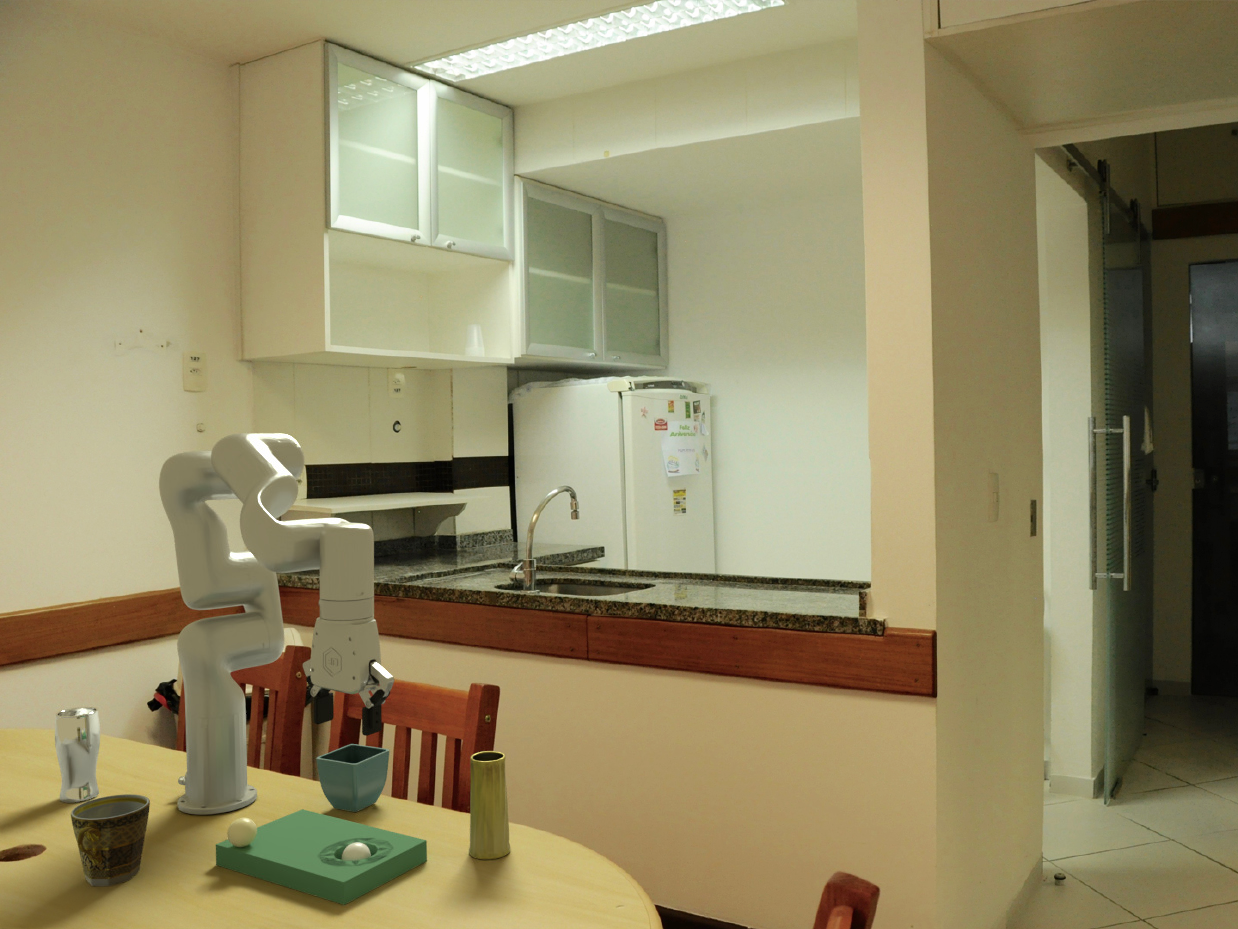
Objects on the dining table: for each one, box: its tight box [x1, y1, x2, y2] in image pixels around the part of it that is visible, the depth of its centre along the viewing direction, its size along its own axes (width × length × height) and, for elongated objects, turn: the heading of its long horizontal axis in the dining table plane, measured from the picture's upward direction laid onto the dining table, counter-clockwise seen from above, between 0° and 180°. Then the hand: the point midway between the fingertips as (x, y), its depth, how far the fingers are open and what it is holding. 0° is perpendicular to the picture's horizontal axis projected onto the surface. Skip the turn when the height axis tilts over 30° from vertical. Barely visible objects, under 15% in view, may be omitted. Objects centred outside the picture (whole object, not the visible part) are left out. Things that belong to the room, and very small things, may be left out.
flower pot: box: [315, 743, 390, 813], centre depth 169 cm, size 9×9×9 cm
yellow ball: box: [226, 817, 258, 847], centre depth 145 cm, size 4×4×4 cm
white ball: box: [342, 842, 371, 861], centre depth 142 cm, size 4×4×4 cm
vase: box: [468, 750, 511, 861], centre depth 149 cm, size 6×6×14 cm
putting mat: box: [215, 809, 428, 906], centre depth 146 cm, size 26×16×3 cm, turn 59°
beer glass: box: [54, 706, 101, 804], centre depth 175 cm, size 7×7×15 cm
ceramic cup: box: [70, 793, 151, 887], centre depth 141 cm, size 13×10×10 cm
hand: (347, 727), depth 145 cm, fingers open, 9 cm apart
